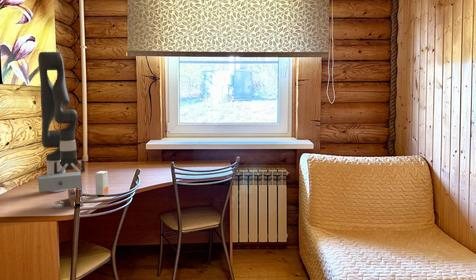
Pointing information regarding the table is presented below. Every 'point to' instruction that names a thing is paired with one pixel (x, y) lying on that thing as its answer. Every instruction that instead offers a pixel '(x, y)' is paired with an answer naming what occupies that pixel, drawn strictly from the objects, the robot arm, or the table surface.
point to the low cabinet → (60, 182)
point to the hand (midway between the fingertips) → (70, 181)
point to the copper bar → (71, 196)
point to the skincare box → (101, 182)
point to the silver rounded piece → (58, 204)
